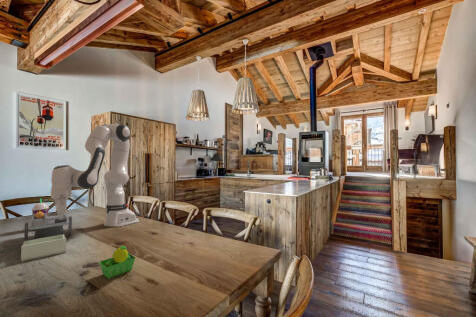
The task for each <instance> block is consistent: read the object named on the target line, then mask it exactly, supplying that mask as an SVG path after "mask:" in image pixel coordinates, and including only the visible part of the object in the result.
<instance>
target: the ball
mask: <svg viewBox="0 0 476 317" xmlns="http://www.w3.org/2000/svg"><path fill="white" fill-rule="evenodd" d="M43 216H44V213H43V212H37V213H36V214H35V217H36V218H38V219H40V218H42V217H43Z"/></svg>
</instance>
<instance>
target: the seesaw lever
mask: <svg viewBox="0 0 476 317" xmlns="http://www.w3.org/2000/svg"><path fill="white" fill-rule="evenodd" d="M60 225H63V226H65V225H67V226H68V225H69V218H68V217H67V215H66V214H63V219H62V220H59V219H58V214H57V215H52V216H51V215H50V216H49V215H48V217H47V216H46V213H44V216H43V217H42V218H40V219H38V218H36V217H35V214H34V215H31V219H30V222H29V225H28V231H33V230H34V229H40V228H47V227H53V226H60Z"/></svg>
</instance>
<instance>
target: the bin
mask: <svg viewBox="0 0 476 317" xmlns="http://www.w3.org/2000/svg"><path fill="white" fill-rule="evenodd" d="M65 236H66V235H65V234H64V233H63V235H57V236H52V237H46V238H40V239H35V238H34V239H30V240H29V239H28V241H23V243H22V245H21V247H20V249H21V250H20V252H21V254H20V263H24V262H25V263H26V262H29V261H34V260H39V259H43V258H47V257H51V256H52V257H53V256H56V255H61V254H65V253H67V237H65Z"/></svg>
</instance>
